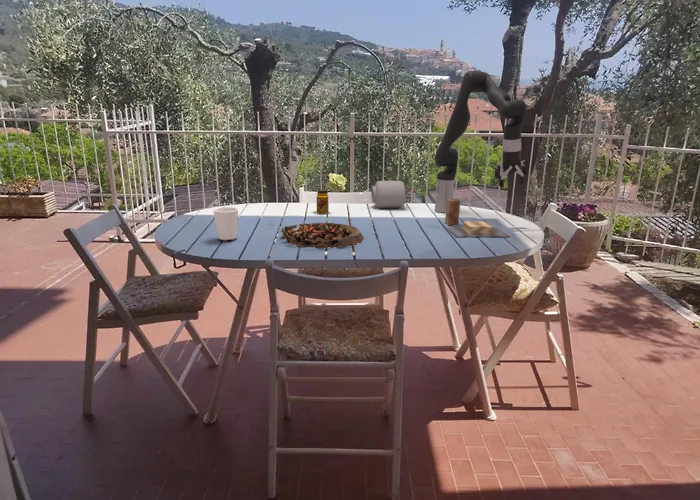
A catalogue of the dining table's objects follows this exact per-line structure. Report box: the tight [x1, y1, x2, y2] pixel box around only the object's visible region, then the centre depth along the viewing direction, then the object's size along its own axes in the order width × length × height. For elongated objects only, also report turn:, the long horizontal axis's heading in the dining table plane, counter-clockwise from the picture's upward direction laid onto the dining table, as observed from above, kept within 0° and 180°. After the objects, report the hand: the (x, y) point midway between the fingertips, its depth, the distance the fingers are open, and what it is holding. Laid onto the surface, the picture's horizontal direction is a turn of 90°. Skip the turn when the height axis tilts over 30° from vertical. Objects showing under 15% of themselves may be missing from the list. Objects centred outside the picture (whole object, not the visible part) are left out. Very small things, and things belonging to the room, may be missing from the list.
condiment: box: [313, 189, 332, 216], centre depth 253 cm, size 7×8×12 cm
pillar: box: [444, 198, 461, 227], centre depth 233 cm, size 5×5×12 cm
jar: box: [360, 180, 407, 211], centre depth 267 cm, size 19×15×25 cm
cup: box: [213, 206, 239, 242], centre depth 201 cm, size 10×10×13 cm
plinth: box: [445, 220, 511, 239], centre depth 220 cm, size 24×16×4 cm, turn 94°
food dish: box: [280, 222, 365, 249], centre depth 206 cm, size 35×33×8 cm
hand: (510, 185), depth 214 cm, fingers open, 8 cm apart
